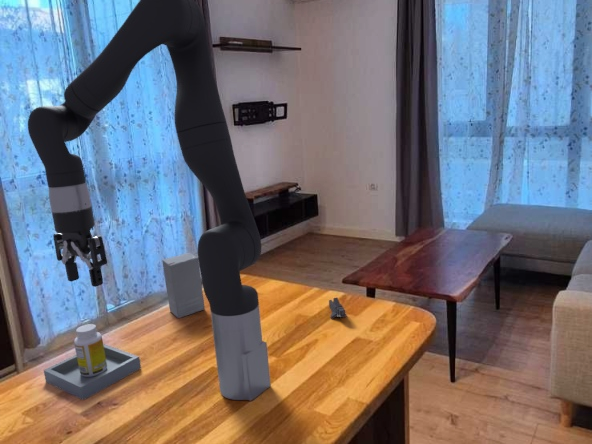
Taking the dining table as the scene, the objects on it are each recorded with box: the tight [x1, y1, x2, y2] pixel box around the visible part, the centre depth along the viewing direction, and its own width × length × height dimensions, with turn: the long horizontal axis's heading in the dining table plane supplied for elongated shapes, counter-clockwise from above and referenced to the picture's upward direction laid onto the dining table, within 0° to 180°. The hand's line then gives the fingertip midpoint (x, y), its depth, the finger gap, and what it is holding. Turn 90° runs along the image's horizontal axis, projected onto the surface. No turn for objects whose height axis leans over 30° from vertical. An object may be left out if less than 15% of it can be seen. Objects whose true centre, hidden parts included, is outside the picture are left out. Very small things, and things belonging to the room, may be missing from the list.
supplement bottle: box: [73, 323, 107, 377], centre depth 110 cm, size 6×6×10 cm
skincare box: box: [161, 252, 206, 319], centre depth 140 cm, size 8×7×16 cm
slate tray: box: [43, 343, 142, 401], centre depth 111 cm, size 14×14×3 cm
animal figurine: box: [328, 297, 348, 320], centre depth 131 cm, size 12×4×5 cm, turn 12°
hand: (85, 282), depth 107 cm, fingers open, 8 cm apart
